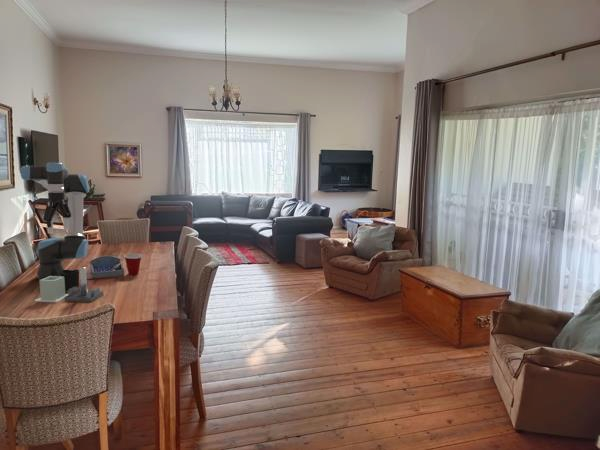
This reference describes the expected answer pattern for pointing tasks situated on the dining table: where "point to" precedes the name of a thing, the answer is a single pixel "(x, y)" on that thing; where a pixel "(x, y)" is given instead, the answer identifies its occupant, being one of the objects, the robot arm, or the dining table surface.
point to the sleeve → (52, 288)
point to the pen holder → (70, 278)
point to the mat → (50, 300)
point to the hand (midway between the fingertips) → (58, 231)
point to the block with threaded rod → (83, 290)
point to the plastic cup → (133, 263)
